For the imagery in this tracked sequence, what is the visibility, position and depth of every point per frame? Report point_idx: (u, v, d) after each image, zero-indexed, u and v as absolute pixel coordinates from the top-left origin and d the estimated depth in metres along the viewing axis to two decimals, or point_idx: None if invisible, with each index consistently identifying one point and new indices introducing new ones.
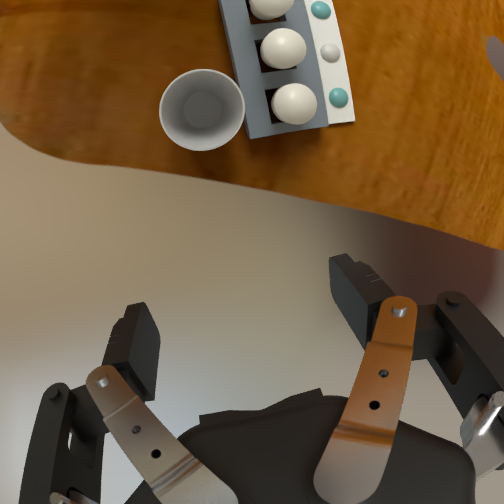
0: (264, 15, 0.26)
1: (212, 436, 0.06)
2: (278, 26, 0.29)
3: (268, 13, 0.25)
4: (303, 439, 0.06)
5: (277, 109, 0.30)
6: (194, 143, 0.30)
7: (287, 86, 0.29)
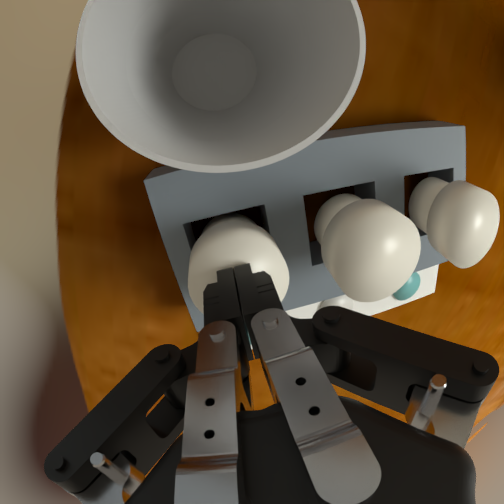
0: (438, 210, 0.14)
1: (212, 436, 0.06)
2: None
3: (446, 220, 0.13)
4: None
5: (221, 243, 0.13)
6: (117, 35, 0.08)
7: (281, 261, 0.14)
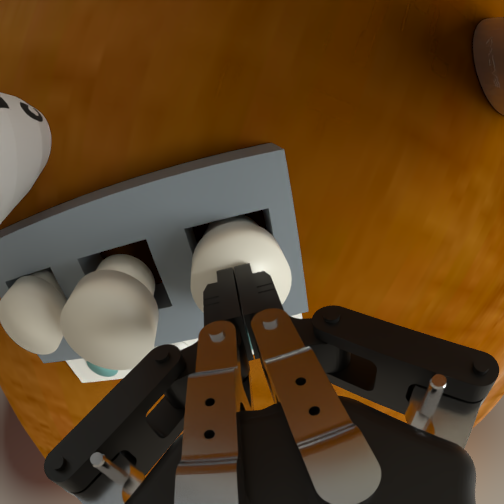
0: (192, 262, 0.14)
1: (212, 436, 0.06)
2: (190, 284, 0.17)
3: None
4: None
5: (6, 297, 0.13)
6: None
7: (45, 312, 0.14)
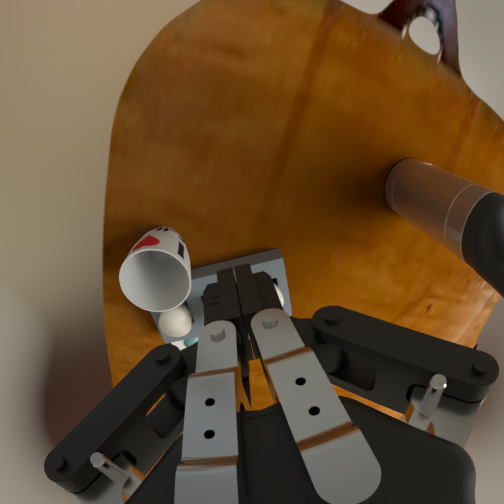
0: None
1: (212, 436, 0.06)
2: None
3: None
4: None
5: (167, 313, 0.40)
6: (127, 265, 0.34)
7: (187, 318, 0.41)
